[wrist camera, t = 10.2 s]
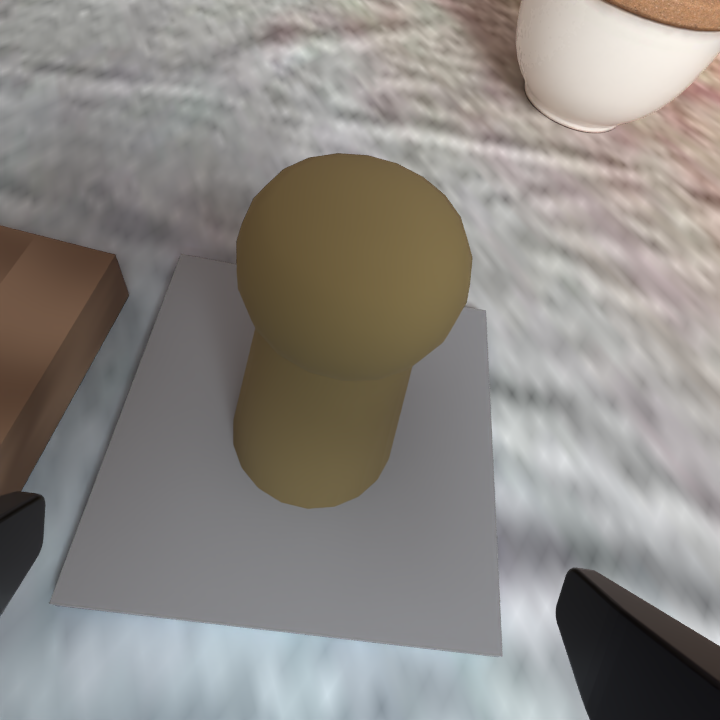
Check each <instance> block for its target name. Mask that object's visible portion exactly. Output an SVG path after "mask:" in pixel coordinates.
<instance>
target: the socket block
mask: <svg viewBox="0 0 720 720" xmlns="http://www.w3.org/2000/svg"><path fill="white" fill-rule="evenodd" d="M128 296H129V293H128V290H127V287H126V284H125V281H124V278H123V275H122V272H121V269H120V267H119V264H118V261H117V258H116V255H115V254H111V253H107V252H103V251H99V250H95V249H91V248H87V247H83V246H79V245H75V244H71V243H67V242H63V241H60V240H56V239H52V238H48V237H44V236H40V235H36V234H32V233H28V232H24V231H20V230H16V229H12V228H8V227H4V226H0V496H1V495H4V494H8V493H11V492H15V491H21V490H22V489H23V487H24V485H25V483H26V481H27V479H28V478H29V476H30V474H31V472H32V470H33V469H34V467H35V465H36V463H37V461H38V460H39V458H40V456H41V454H42V452H43V450H44V449H45V447H46V445H47V443H48V441H49V440H50V438H51V436H52V434H53V432H54V431H55V429H56V427H57V425H58V423H59V421H60V420H61V418H62V416H63V414H64V412H65V411H66V409H67V407H68V405H69V403H70V401H71V400H72V398H73V396H74V394H75V392H76V391H77V389H78V387H79V385H80V383H81V382H82V380H83V378H84V376H85V374H86V372H87V371H88V369H89V367H90V365H91V363H92V362H93V360H94V358H95V356H96V354H97V353H98V351H99V349H100V347H101V345H102V343H103V342H104V340H105V338H106V336H107V334H108V333H109V331H110V329H111V327H112V325H113V324H114V322H115V320H116V318H117V316H118V314H119V313H120V311H121V309H122V307H123V305H124V304H125V302H126V300H127V298H128Z"/></svg>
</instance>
